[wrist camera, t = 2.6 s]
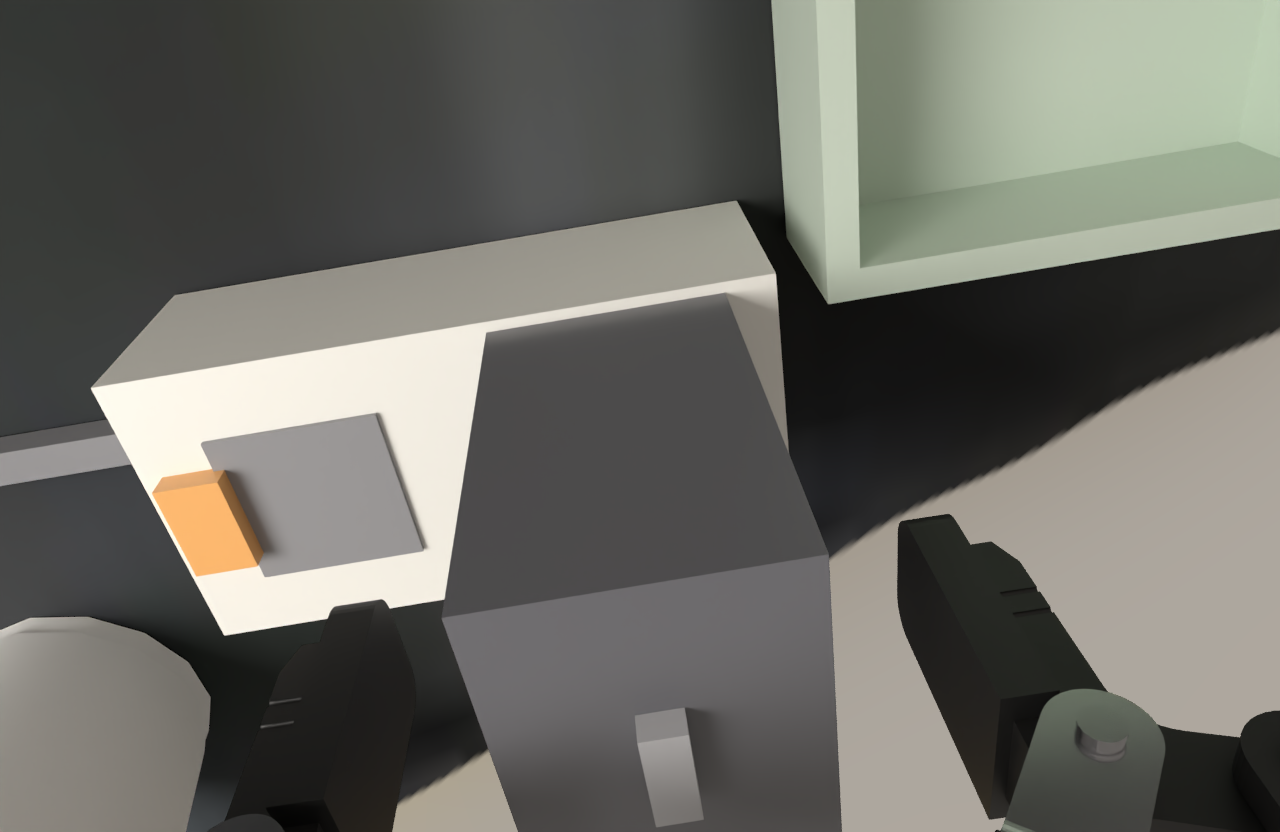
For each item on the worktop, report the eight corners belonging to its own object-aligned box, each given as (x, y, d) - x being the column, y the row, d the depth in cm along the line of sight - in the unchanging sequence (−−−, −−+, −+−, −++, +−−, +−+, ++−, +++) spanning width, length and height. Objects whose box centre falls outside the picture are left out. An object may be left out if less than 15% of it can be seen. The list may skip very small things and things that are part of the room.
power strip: (-104, 342, 19) (-271, 460, 15) (736, 200, 19) (781, 284, 15) (36, 557, 22) (-74, 701, 18) (758, 437, 22) (800, 557, 18)
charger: (492, 291, 17) (437, 645, 9) (709, 254, 17) (838, 580, 9) (550, 520, 20) (545, 937, 12) (736, 490, 20) (851, 888, 12)
